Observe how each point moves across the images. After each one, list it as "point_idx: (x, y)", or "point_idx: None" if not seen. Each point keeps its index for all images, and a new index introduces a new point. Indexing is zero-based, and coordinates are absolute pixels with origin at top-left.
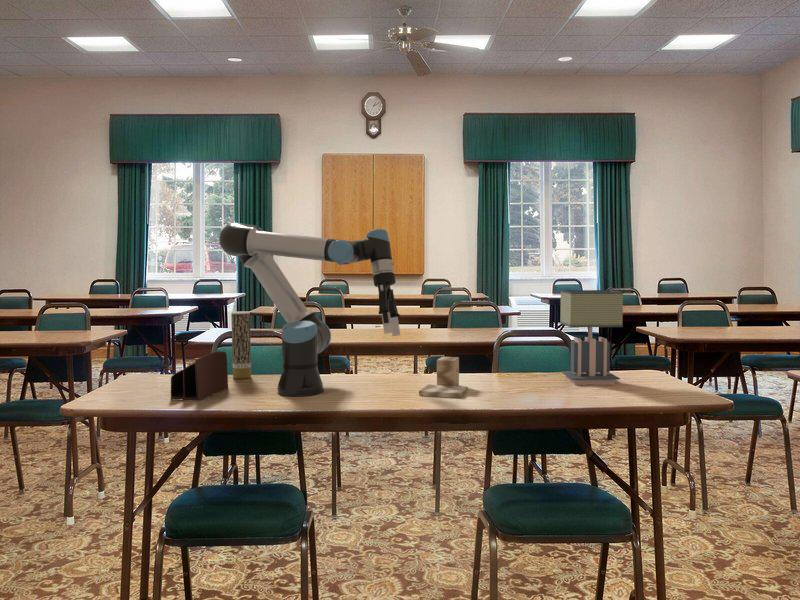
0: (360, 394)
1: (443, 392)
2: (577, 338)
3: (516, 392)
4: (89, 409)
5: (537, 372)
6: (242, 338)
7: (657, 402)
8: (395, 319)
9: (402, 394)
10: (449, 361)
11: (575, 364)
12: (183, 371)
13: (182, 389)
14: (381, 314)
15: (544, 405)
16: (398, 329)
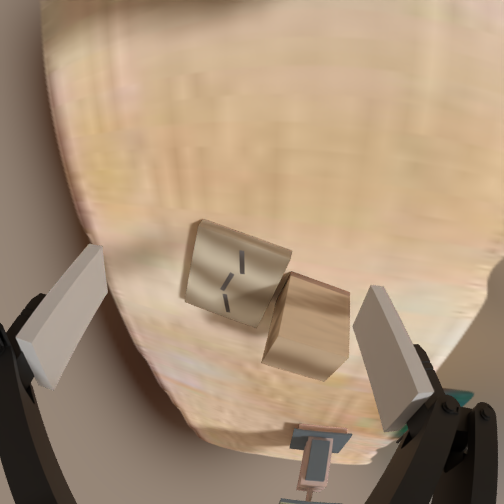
0: (207, 46)
1: (189, 274)
2: (309, 485)
3: (247, 371)
4: None
5: None
6: None
7: (203, 426)
8: (388, 405)
9: (214, 177)
10: (265, 354)
11: (310, 450)
12: None
13: None
14: (16, 337)
15: (164, 365)
16: (364, 349)
